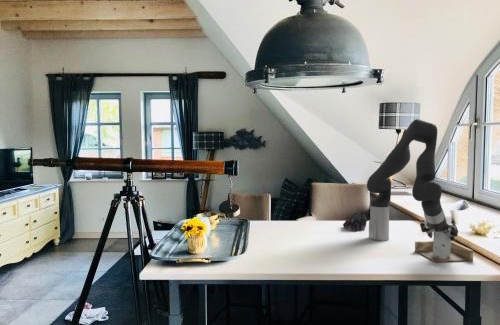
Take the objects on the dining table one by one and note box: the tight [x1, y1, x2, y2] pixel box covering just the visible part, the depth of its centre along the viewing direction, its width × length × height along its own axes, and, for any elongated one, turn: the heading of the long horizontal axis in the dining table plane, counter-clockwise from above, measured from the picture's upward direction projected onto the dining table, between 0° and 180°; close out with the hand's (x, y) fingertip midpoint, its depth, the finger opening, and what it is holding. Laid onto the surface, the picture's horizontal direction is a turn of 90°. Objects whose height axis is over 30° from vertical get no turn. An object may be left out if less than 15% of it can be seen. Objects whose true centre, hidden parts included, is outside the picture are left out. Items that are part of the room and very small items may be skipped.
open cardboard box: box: [414, 240, 474, 264], centre depth 180 cm, size 17×17×5 cm
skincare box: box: [432, 231, 451, 258], centre depth 178 cm, size 6×4×12 cm
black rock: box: [342, 212, 368, 232], centre depth 234 cm, size 13×14×10 cm
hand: (441, 237), depth 178 cm, fingers open, 8 cm apart
